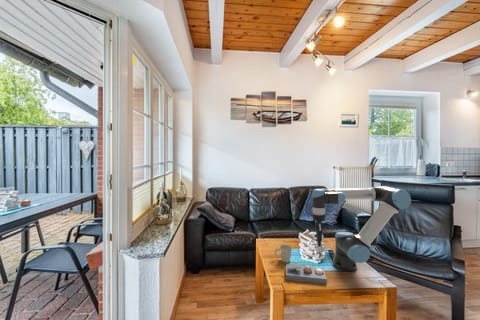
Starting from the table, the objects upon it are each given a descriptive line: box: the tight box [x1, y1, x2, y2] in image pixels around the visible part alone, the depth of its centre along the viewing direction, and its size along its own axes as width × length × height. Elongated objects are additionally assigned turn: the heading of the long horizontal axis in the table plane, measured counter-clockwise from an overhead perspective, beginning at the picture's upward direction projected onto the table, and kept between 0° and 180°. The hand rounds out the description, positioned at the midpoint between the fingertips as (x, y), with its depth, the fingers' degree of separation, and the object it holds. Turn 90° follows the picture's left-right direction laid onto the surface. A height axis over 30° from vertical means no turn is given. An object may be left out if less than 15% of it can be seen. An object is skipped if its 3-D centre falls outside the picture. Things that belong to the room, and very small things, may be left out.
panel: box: [285, 263, 328, 285], centre depth 145 cm, size 24×14×4 cm, turn 78°
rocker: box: [288, 262, 302, 270], centre depth 147 cm, size 8×5×1 cm, turn 77°
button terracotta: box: [303, 264, 312, 273], centre depth 145 cm, size 4×4×3 cm
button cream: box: [316, 268, 323, 275], centre depth 143 cm, size 4×4×3 cm
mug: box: [274, 244, 293, 263], centre depth 167 cm, size 8×13×10 cm, turn 78°
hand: (319, 250), depth 144 cm, fingers closed
